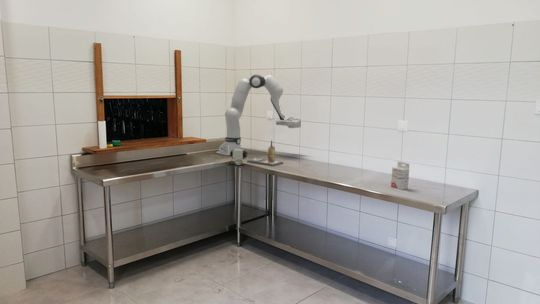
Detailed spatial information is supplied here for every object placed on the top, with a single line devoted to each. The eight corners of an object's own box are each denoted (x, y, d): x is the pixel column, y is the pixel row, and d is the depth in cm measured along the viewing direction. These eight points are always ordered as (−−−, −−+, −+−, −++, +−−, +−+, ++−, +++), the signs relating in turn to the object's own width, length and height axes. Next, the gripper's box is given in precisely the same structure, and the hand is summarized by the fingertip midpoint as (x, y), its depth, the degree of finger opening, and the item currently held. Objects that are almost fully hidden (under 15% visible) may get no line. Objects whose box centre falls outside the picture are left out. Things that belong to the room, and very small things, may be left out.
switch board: (247, 162, 308) (247, 159, 307) (257, 159, 318) (257, 157, 318) (272, 166, 294) (272, 163, 293) (283, 163, 304) (283, 161, 304)
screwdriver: (266, 162, 302) (266, 140, 299) (270, 161, 306) (270, 139, 303) (271, 162, 299) (272, 141, 296) (275, 161, 303) (276, 140, 300)
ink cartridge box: (390, 186, 239) (392, 162, 236) (395, 185, 242) (397, 161, 239) (402, 190, 232) (404, 164, 230) (408, 188, 235) (410, 163, 232)
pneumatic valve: (245, 165, 293) (245, 149, 291) (230, 164, 296) (230, 148, 295) (247, 164, 298) (247, 148, 297) (232, 163, 302) (232, 147, 300)
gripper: (281, 118, 335) (271, 118, 324) (302, 119, 323) (292, 120, 312) (281, 125, 336) (271, 126, 325) (302, 127, 324) (292, 128, 313)
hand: (282, 123), depth 318 cm, fingers open, 8 cm apart
